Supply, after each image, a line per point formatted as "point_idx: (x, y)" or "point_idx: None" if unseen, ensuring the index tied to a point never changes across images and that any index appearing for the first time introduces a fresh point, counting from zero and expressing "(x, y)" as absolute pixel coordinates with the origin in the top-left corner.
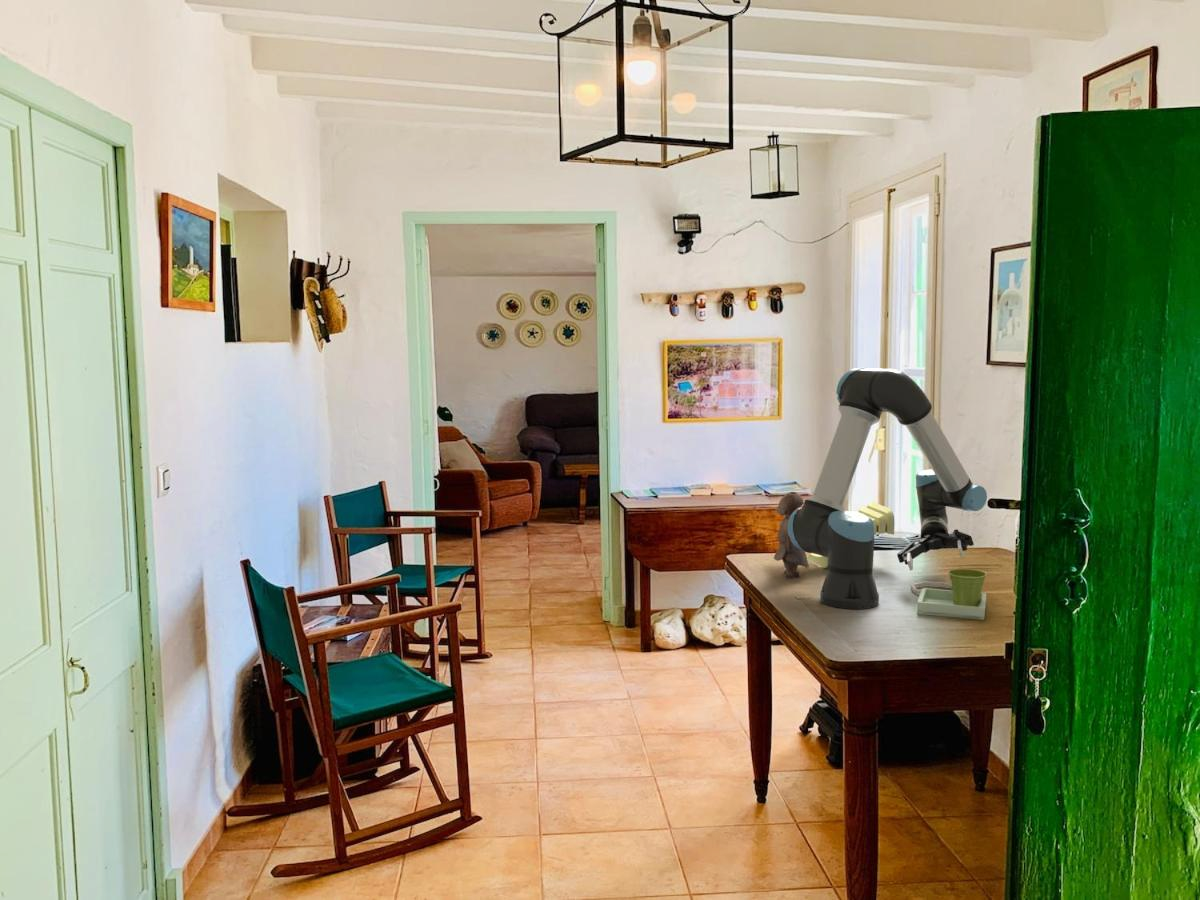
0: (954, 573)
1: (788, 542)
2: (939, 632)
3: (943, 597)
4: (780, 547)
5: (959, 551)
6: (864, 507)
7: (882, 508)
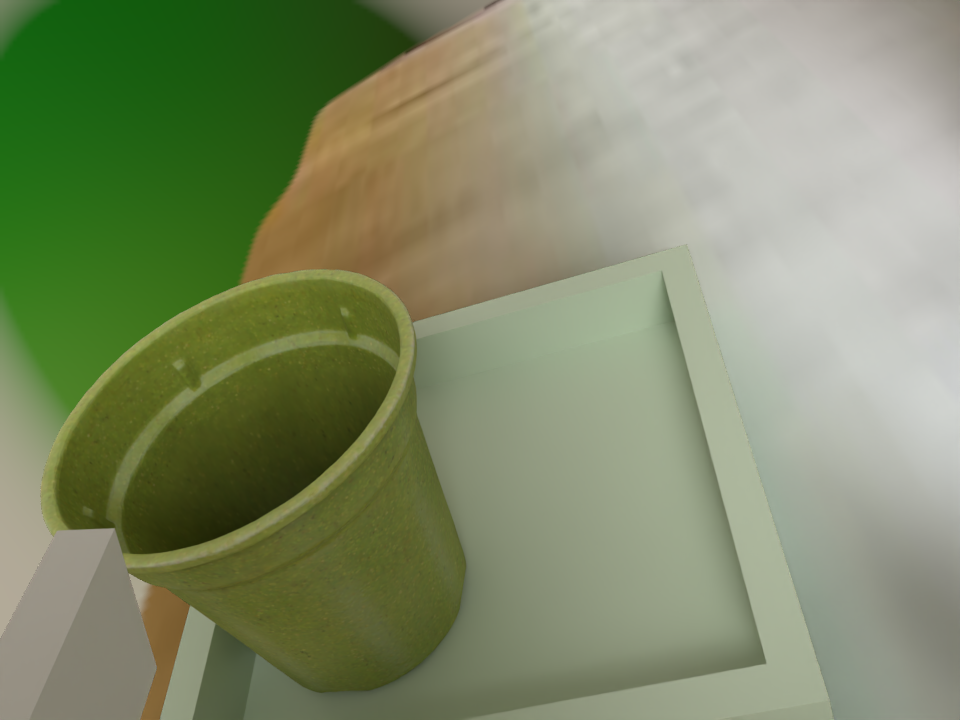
0: (358, 476)
1: None
2: (514, 155)
3: None
4: None
5: (118, 570)
6: None
7: None
